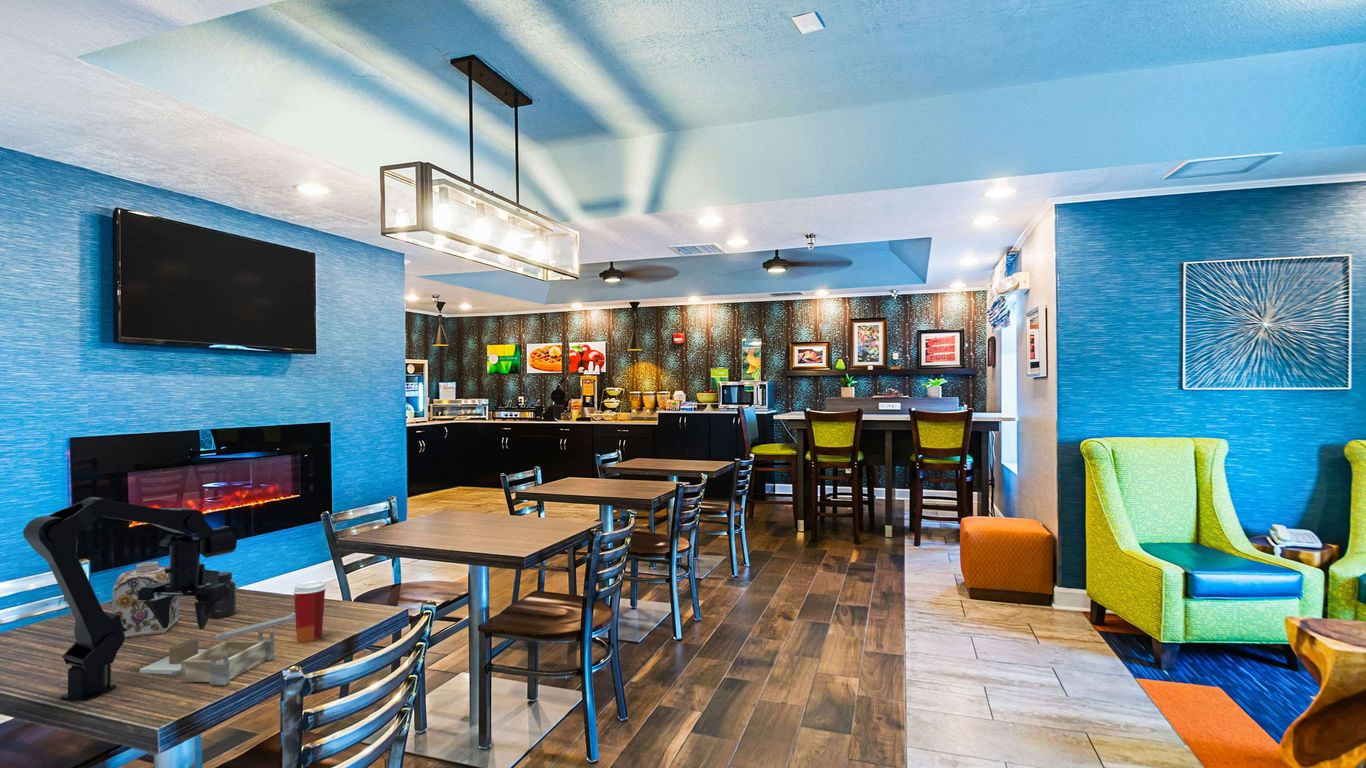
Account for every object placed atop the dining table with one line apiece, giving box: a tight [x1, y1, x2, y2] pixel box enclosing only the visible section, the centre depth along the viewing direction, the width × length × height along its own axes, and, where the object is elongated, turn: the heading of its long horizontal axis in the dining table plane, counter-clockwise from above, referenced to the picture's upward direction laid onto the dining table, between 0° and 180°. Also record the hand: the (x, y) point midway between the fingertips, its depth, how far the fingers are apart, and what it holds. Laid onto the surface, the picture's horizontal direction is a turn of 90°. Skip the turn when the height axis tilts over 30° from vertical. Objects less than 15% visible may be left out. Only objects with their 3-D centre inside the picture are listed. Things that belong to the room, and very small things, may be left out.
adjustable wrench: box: [215, 612, 296, 641], centre depth 183 cm, size 25×6×2 cm, turn 138°
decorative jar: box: [111, 561, 180, 639], centre depth 180 cm, size 12×12×18 cm
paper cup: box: [292, 580, 327, 644], centre depth 172 cm, size 8×8×14 cm
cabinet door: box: [139, 638, 207, 677], centre depth 157 cm, size 15×10×5 cm
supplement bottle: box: [208, 571, 237, 619], centre depth 192 cm, size 7×7×12 cm
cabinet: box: [180, 630, 275, 686], centre depth 152 cm, size 15×11×6 cm
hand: (183, 628), depth 157 cm, fingers open, 9 cm apart
